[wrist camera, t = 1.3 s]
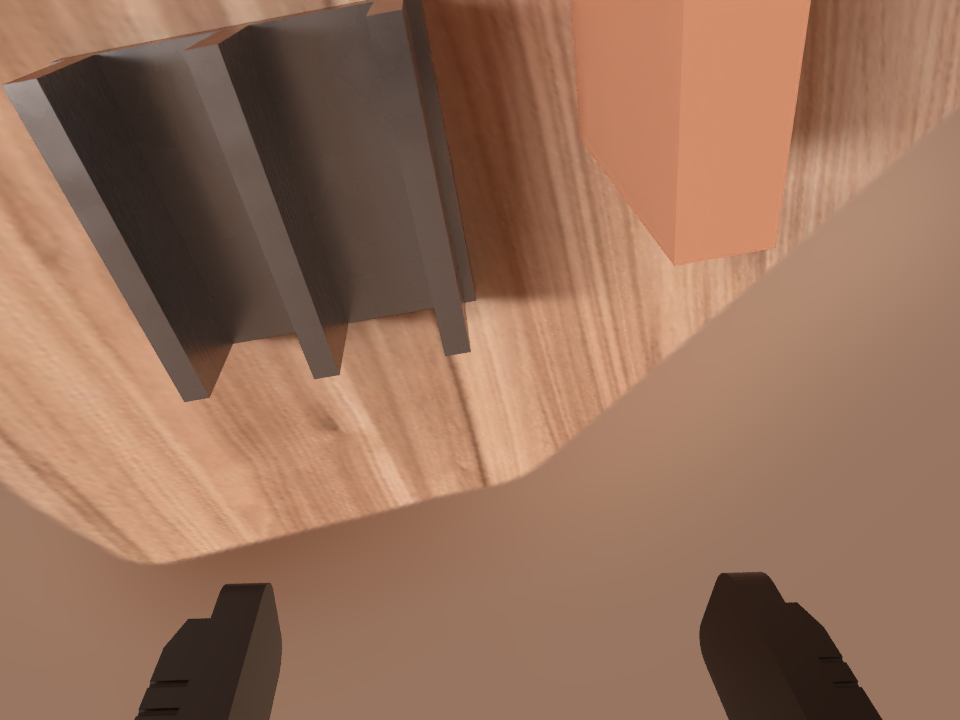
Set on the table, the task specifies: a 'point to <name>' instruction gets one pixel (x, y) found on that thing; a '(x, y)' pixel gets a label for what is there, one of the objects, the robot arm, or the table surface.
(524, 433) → the table surface
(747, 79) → the tall salmon slab
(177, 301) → the dish rack
